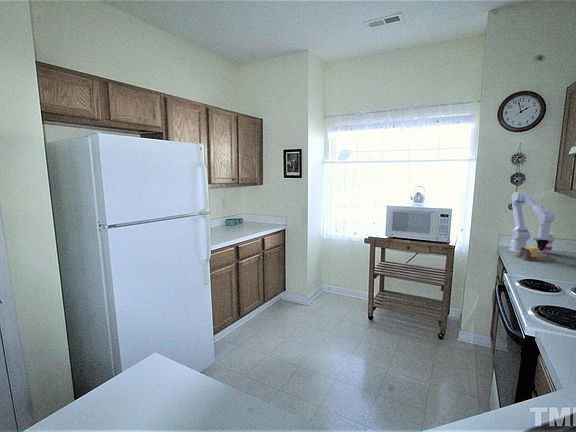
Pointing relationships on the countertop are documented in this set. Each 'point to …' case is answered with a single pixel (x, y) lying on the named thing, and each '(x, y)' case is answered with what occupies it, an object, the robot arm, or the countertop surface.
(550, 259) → the rail stand
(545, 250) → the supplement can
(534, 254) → the sleeve
